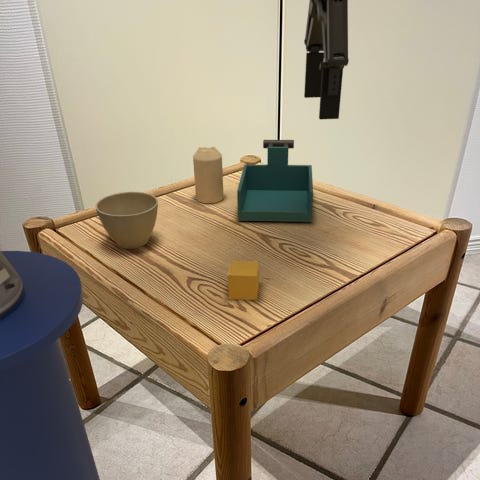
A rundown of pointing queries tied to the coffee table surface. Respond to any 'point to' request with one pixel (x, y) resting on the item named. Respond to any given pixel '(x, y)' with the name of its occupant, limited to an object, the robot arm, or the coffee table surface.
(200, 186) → the candle
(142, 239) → the beige bowl
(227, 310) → the coffee table surface
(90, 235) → the coffee table surface
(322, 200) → the coffee table surface
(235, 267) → the block
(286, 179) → the dustpan
